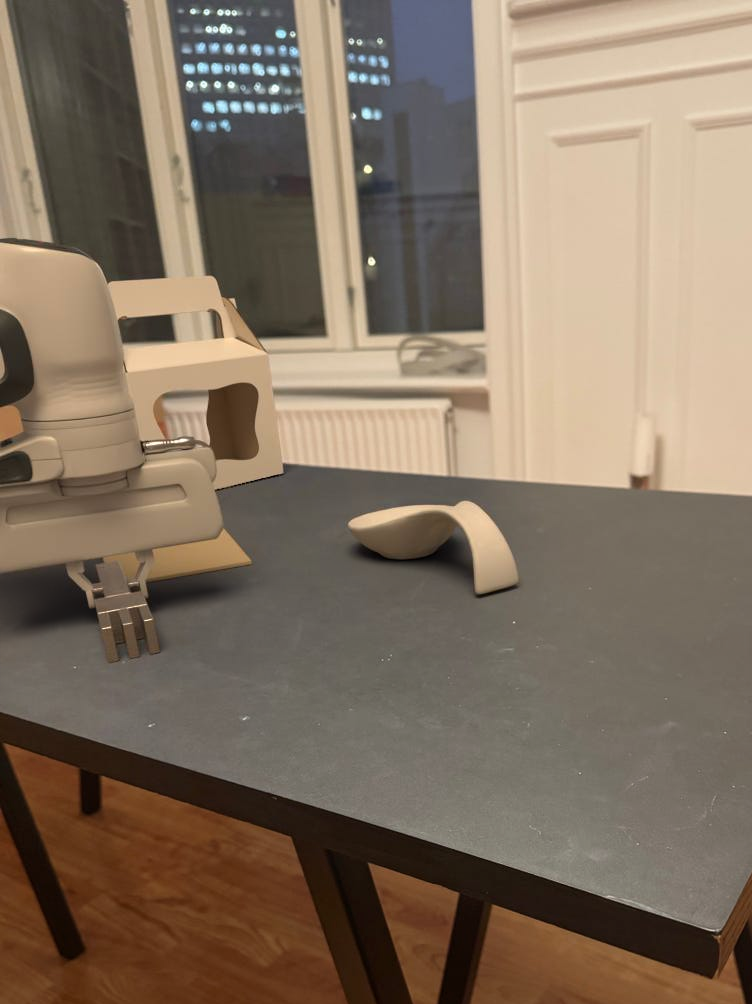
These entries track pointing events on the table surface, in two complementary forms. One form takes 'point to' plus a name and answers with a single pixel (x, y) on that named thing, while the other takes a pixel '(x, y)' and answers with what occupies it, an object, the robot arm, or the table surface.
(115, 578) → the fork
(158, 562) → the place mat
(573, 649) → the table surface
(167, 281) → the gable box
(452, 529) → the spoon rest
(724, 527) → the table surface
